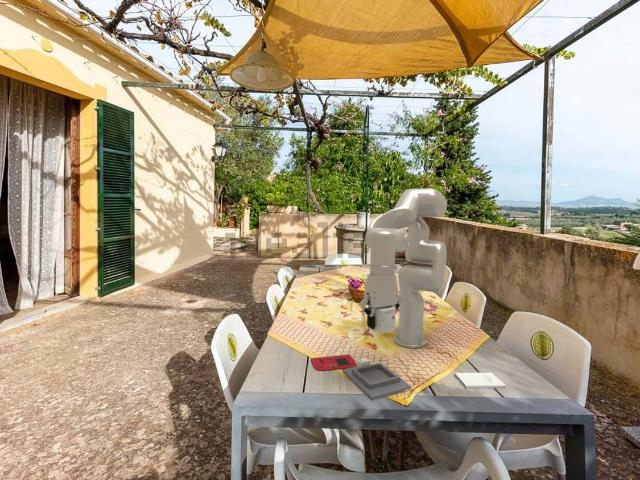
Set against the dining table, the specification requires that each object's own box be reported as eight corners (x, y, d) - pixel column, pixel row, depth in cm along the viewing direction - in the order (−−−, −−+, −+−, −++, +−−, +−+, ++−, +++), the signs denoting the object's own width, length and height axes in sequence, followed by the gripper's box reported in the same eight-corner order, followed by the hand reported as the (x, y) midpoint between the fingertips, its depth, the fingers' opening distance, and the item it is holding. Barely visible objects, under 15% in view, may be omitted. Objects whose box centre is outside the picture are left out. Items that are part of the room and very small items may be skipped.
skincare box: (381, 334, 103) (382, 311, 103) (367, 328, 108) (367, 306, 108) (395, 330, 107) (395, 307, 106) (380, 325, 112) (381, 303, 111)
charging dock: (342, 372, 114) (342, 362, 114) (378, 364, 120) (378, 354, 120) (372, 400, 98) (372, 388, 98) (411, 389, 104) (411, 378, 103)
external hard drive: (454, 377, 113) (491, 376, 113) (465, 390, 104) (505, 389, 105) (454, 372, 112) (491, 371, 113) (465, 385, 104) (505, 384, 105)
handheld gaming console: (310, 357, 124) (349, 353, 127) (310, 360, 124) (349, 357, 127) (315, 369, 114) (358, 365, 118) (315, 373, 115) (358, 369, 118)
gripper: (397, 266, 113) (395, 318, 115) (351, 270, 106) (351, 326, 107) (412, 270, 106) (410, 326, 108) (365, 274, 99) (363, 334, 100)
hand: (380, 325), depth 108 cm, fingers closed on skincare box, 6 cm apart
